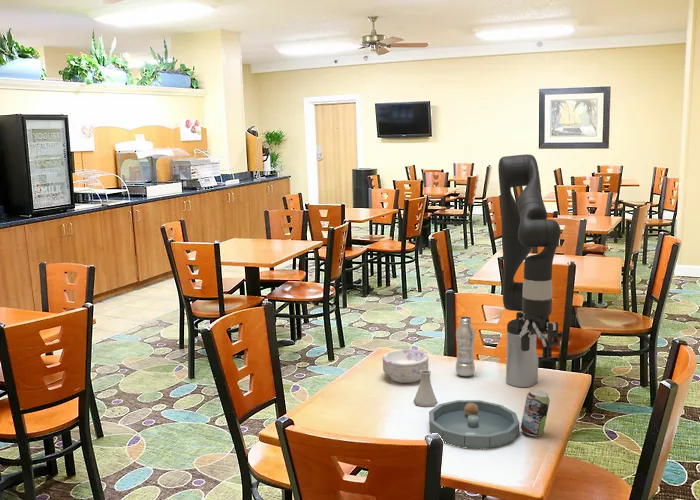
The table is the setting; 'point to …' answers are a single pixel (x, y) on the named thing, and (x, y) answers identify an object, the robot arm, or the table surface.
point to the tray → (474, 437)
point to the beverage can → (535, 412)
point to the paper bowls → (405, 365)
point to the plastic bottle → (465, 348)
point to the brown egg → (471, 409)
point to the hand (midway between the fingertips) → (535, 355)
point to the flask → (425, 391)
